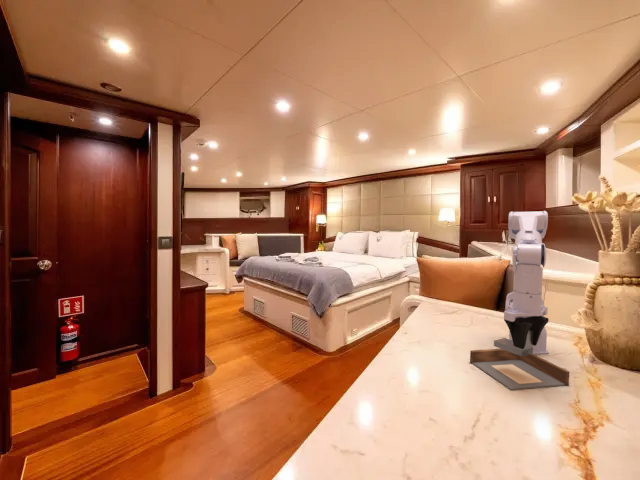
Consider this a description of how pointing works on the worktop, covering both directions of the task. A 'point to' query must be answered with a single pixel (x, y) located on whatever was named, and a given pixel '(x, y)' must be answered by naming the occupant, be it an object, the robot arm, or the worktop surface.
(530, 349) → the angle bracket
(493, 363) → the corner mat
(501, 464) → the worktop surface
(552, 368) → the corner walls
